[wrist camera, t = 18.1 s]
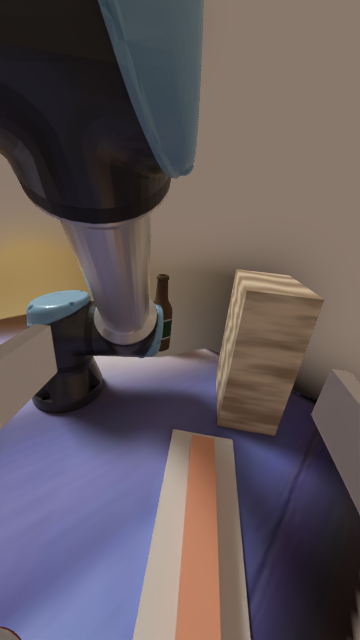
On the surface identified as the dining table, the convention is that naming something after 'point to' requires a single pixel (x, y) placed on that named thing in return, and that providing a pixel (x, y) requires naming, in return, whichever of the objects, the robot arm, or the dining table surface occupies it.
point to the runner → (166, 547)
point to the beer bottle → (164, 309)
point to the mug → (8, 634)
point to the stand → (262, 349)
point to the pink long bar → (199, 549)
